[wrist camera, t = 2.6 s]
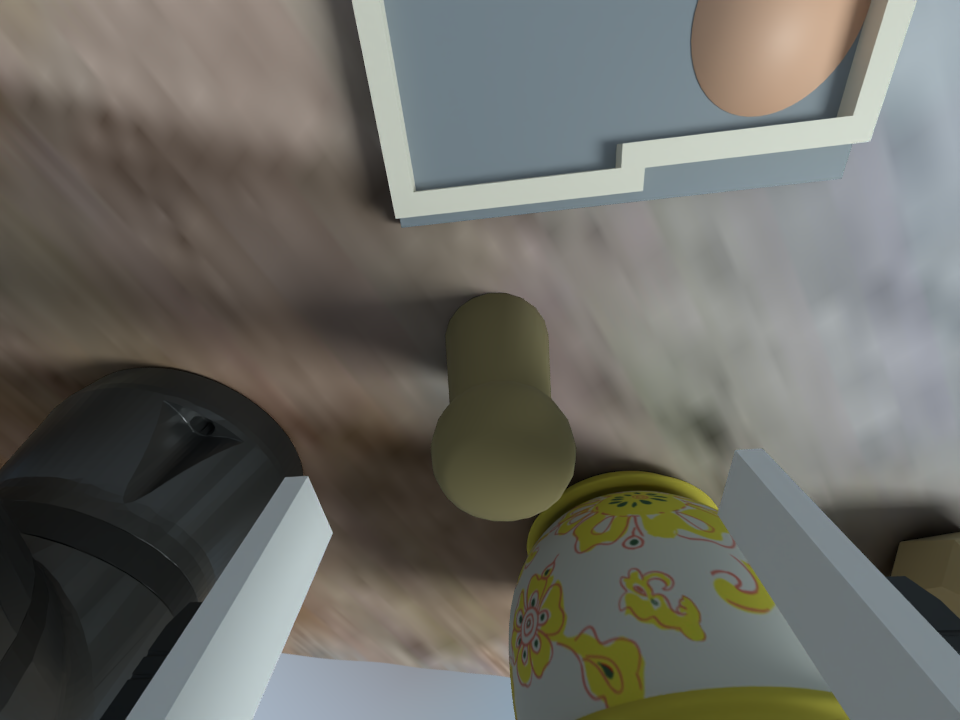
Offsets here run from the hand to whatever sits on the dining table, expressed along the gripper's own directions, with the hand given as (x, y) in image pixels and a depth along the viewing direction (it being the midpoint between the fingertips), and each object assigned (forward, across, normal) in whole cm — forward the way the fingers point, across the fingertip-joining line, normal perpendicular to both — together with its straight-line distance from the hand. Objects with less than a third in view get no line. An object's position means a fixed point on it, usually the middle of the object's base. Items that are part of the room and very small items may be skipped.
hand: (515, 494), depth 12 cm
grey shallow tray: (+11, +6, +13) cm, 18 cm away
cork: (+11, 0, 0) cm, 11 cm away
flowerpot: (+12, +8, -17) cm, 22 cm away
